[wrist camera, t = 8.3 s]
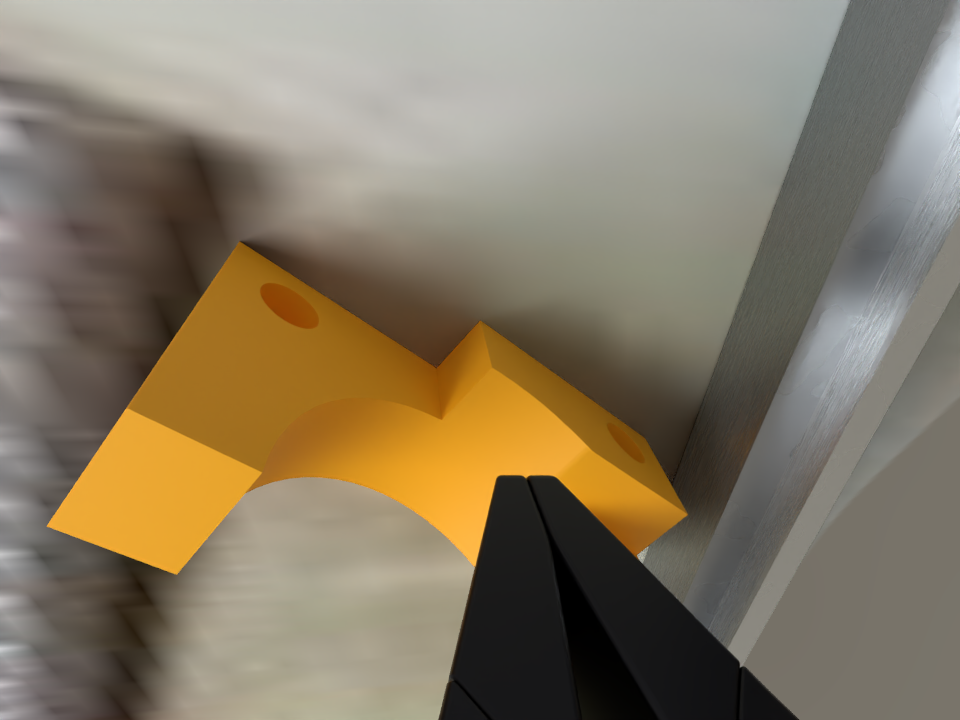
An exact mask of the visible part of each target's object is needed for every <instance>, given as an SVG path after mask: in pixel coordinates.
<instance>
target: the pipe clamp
mask: <svg viewBox="0 0 960 720" xmlns="http://www.w3.org/2000/svg"><path fill="white" fill-rule="evenodd" d="M499 475H522V476H524V477H525V478H526V477H528V476H529V475H552V476H554V477H556V478H558V479H559V480H560V481H561V482H562V483H563V484H564V485H565V486H566V487H567V488H568V489H569V490H570V491H571V492H572V493H573V494H574V495H575V496H576V497H577V498H578V499H579V500H580V501H581V502H582V503H583V504H584V505H585V506H586V507H587V508H588V509H589V510H590V511H591V512H592V513H593V514H594V515H595V516H596V517H597V518H598V519H599V520H600V522H601V523H602V524H603V525H604V526H605V527H606V528H607V529H608V530H609V531H610V532H611V533H612V534H613V535H614V536H615V537H616V538H617V539H618V540H619V541H620V542H621V543H622V544H623V545H624V546H625V547H626V548H627V549H628V550H629V551H630V552H631V553H632V554H633V555H634V556H635V557H636V558H637V559H638V557H637V554H639V553H640V552H641V551H642V550H644V549H645V548H646V547H647V546H649V545H650V544H651V543H653V542H654V541H655V540H656V539H658V538H659V537H660V536H662V535H663V534H664V533H665V532H667V531H668V530H669V529H670V528H672V527H673V526H674V525H676V524H677V523H678V522H679V521H681V520H682V519H683V518H684V517H686V516H687V515H688V514H687V512H686V510H685V508H684V506H683V505H682V503H681V501H680V499H679V498H678V496H677V494H676V492H675V490H674V489H673V487H672V485H671V483H670V482H669V480H668V478H667V476H666V474H665V473H664V471H663V469H662V467H661V466H660V464H659V462H658V460H657V458H656V457H655V455H654V453H653V451H652V450H651V448H650V446H649V444H648V442H647V441H646V439H645V438H644V437H643V436H641V435H640V434H639V433H637V432H636V431H634V430H633V429H632V428H630V427H629V426H627V425H626V424H625V423H623V422H622V421H620V420H619V419H618V418H616V417H615V416H613V415H612V414H611V413H609V412H608V411H606V410H605V409H604V408H602V407H601V406H599V405H598V404H597V403H595V402H594V401H592V400H591V399H590V398H588V397H587V396H585V395H584V394H583V393H581V392H580V391H578V390H577V389H576V388H574V387H573V386H571V385H570V384H569V383H567V382H566V381H564V380H563V379H562V378H560V377H559V376H557V375H556V374H555V373H553V372H552V371H551V370H549V369H548V368H546V367H545V366H544V365H542V364H541V363H539V362H538V361H537V360H535V359H534V358H532V357H531V356H530V355H528V354H527V353H525V352H524V351H523V350H521V349H520V348H518V347H517V346H516V345H514V344H513V343H511V342H510V341H509V340H507V339H506V338H504V337H503V336H502V335H500V334H499V333H497V332H496V331H495V330H493V329H492V328H490V327H489V326H488V325H486V324H485V323H483V322H482V321H481V320H480V321H479V322H478V323H477V324H476V325H475V327H474V328H473V329H472V330H471V331H470V332H469V333H468V334H467V335H466V336H465V338H464V339H463V340H462V341H461V342H460V343H459V344H458V345H457V346H456V347H455V348H454V350H453V351H452V352H451V353H450V354H449V355H448V356H447V357H446V358H445V359H444V361H443V362H442V363H441V364H440V365H439V366H438V367H437V368H436V367H434V366H432V365H431V364H429V363H428V362H426V361H425V360H423V359H422V358H420V357H418V356H417V355H415V354H414V353H412V352H411V351H409V350H408V349H406V348H404V347H403V346H401V345H400V344H398V343H397V342H395V341H394V340H392V339H390V338H389V337H387V336H386V335H384V334H383V333H381V332H380V331H378V330H377V329H375V328H373V327H372V326H370V325H369V324H367V323H366V322H364V321H363V320H361V319H359V318H358V317H356V316H355V315H353V314H352V313H350V312H349V311H347V310H345V309H344V308H342V307H341V306H339V305H338V304H336V303H335V302H333V301H332V300H330V299H328V298H327V297H325V296H324V295H322V294H321V293H319V292H318V291H316V290H314V289H313V288H311V287H310V286H308V285H307V284H305V283H304V282H302V281H300V280H299V279H297V278H296V277H294V276H293V275H291V274H290V273H288V272H287V271H285V270H283V269H282V268H280V267H279V266H277V265H276V264H274V263H273V262H271V261H269V260H268V259H266V258H265V257H263V256H262V255H260V254H259V253H257V252H255V251H254V250H252V249H251V248H249V247H248V246H246V245H245V244H243V243H242V242H239V243H238V244H237V246H236V247H235V249H234V250H233V252H232V253H231V255H230V256H229V258H228V259H227V261H226V262H225V264H224V265H223V267H222V268H221V270H220V271H219V272H218V274H217V275H216V277H215V278H214V280H213V281H212V283H211V284H210V286H209V287H208V289H207V290H206V292H205V293H204V295H203V296H202V298H201V299H200V300H199V302H198V303H197V305H196V306H195V308H194V309H193V311H192V312H191V314H190V315H189V317H188V318H187V320H186V321H185V323H184V324H183V326H182V327H181V328H180V330H179V331H178V333H177V334H176V336H175V337H174V339H173V340H172V342H171V343H170V345H169V346H168V348H167V349H166V351H165V352H164V354H163V355H162V357H161V358H160V360H159V361H158V362H157V364H156V365H155V367H154V368H153V370H152V371H151V373H150V374H149V376H148V377H147V379H146V380H145V382H144V383H143V385H142V386H141V388H140V389H139V391H138V392H137V393H136V395H135V396H134V398H133V399H132V401H131V402H130V404H129V405H128V407H127V408H126V410H125V411H124V413H123V414H122V416H121V417H120V419H119V420H118V422H117V423H116V425H115V426H114V427H113V429H112V430H111V432H110V433H109V435H108V436H107V438H106V439H105V441H104V442H103V444H102V445H101V447H100V448H99V450H98V451H97V453H96V454H95V456H94V457H93V458H92V460H91V461H90V463H89V464H88V466H87V467H86V469H85V470H84V472H83V473H82V475H81V476H80V478H79V479H78V481H77V482H76V484H75V485H74V487H73V488H72V490H71V491H70V492H69V494H68V495H67V497H66V498H65V500H64V501H63V503H62V504H61V506H60V507H59V509H58V510H57V512H56V513H55V515H54V516H53V518H52V519H51V521H50V522H49V523H48V525H47V527H50V528H53V529H55V530H58V531H61V532H63V533H66V534H69V535H71V536H74V537H77V538H79V539H82V540H85V541H87V542H90V543H93V544H96V545H98V546H101V547H104V548H106V549H109V550H112V551H114V552H117V553H120V554H122V555H125V556H128V557H131V558H133V559H136V560H139V561H141V562H144V563H147V564H149V565H152V566H155V567H157V568H160V569H163V570H165V571H168V572H171V573H174V574H176V575H177V574H178V572H179V571H180V570H181V569H182V568H183V566H184V565H185V564H186V563H187V562H188V560H189V559H190V558H191V557H192V556H193V554H194V553H195V552H196V551H197V550H198V549H199V547H200V546H201V545H202V544H203V543H204V541H205V540H206V539H207V538H208V537H209V535H210V534H211V533H212V532H213V531H214V530H215V528H216V527H217V526H218V525H219V524H220V522H221V521H222V520H223V519H224V518H225V516H226V515H227V514H228V513H229V512H230V510H231V509H232V508H233V507H234V506H235V505H236V503H237V502H238V501H239V500H240V499H241V497H242V496H243V495H244V494H245V493H247V492H249V491H251V490H253V489H255V488H257V487H260V486H263V485H266V484H268V483H271V482H275V481H280V480H284V479H289V478H300V477H323V478H331V479H338V480H343V481H347V482H352V483H355V484H358V485H362V486H365V487H368V488H370V489H373V490H375V491H378V492H380V493H383V494H385V495H387V496H389V497H390V498H392V499H394V500H396V501H398V502H400V503H402V504H403V505H405V506H407V507H408V508H410V509H412V510H413V511H414V512H416V513H417V514H419V515H420V516H422V517H423V518H424V519H426V520H427V521H428V522H429V523H431V524H432V525H433V526H434V527H436V528H437V529H438V530H439V531H440V532H441V533H443V534H444V535H445V536H446V537H447V538H448V539H449V540H450V541H451V542H452V543H453V544H454V545H455V546H456V547H457V548H458V549H459V550H460V551H461V552H462V553H463V554H464V555H465V556H466V558H467V559H468V560H469V561H470V562H471V564H472V565H473V566H474V567H475V565H476V561H477V557H478V553H479V549H480V544H481V540H482V536H483V532H484V527H485V523H486V519H487V515H488V511H489V506H490V502H491V498H492V494H493V490H494V485H495V481H496V478H497V477H498V476H499ZM638 560H639V559H638Z"/></svg>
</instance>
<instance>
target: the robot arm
mask: <svg viewBox="0 0 960 720" xmlns="http://www.w3.org/2000/svg"><path fill="white" fill-rule="evenodd" d="M438 720H799V719H798V718H797V717H796V716H795V715H794V714H793V713H792V712H791V711H790V710H789V709H788V708H787V707H785V706H784V705H783V704H782V703H781V702H780V701H779V700H778V699H777V698H776V697H775V696H774V695H773V694H772V693H771V692H770V691H769V690H768V689H767V688H766V687H765V686H764V685H763V684H762V683H761V682H760V681H759V680H758V679H757V678H756V677H755V676H754V675H753V674H752V673H751V672H750V671H749V670H748V669H747V668H746V667H740V662H739V660H738V659H737V658H736V657H735V656H734V655H733V654H732V653H731V652H730V651H729V650H728V649H727V648H726V647H725V646H724V645H723V644H722V643H721V642H720V641H719V640H718V639H717V638H716V637H715V636H714V635H713V634H712V633H711V632H710V631H709V630H708V629H707V628H706V627H705V626H704V625H703V624H702V623H701V622H700V621H699V620H698V619H697V618H696V617H695V616H694V615H693V614H692V613H691V612H690V611H689V610H688V609H687V608H686V607H685V606H684V605H683V604H682V603H681V602H680V601H679V600H678V599H677V598H676V597H675V596H674V595H673V594H672V593H671V592H670V591H669V590H668V589H667V588H666V587H665V586H664V585H663V584H662V583H661V582H660V581H659V580H658V579H657V578H656V577H655V576H654V575H653V574H652V573H651V572H650V571H649V570H648V569H647V568H646V567H645V566H644V565H643V564H642V563H641V562H640V561H639V560H638V559H637V558H636V557H635V556H634V555H633V554H632V553H631V552H630V551H629V550H628V549H627V548H626V547H625V546H624V545H623V544H622V543H621V542H620V541H619V540H618V539H617V538H616V537H615V536H614V535H613V534H612V533H611V532H610V531H609V530H608V529H607V528H606V527H605V526H604V525H603V524H602V523H601V522H600V520H599V519H598V518H597V517H596V516H595V515H594V514H593V513H592V512H591V511H590V510H589V509H588V508H587V507H586V506H585V505H584V504H583V503H582V502H581V501H580V500H579V499H578V498H577V497H576V496H575V495H574V494H573V493H572V492H571V491H570V490H569V489H568V488H567V487H566V486H565V485H564V484H563V483H562V482H561V481H560V480H559V479H558V478H556V477H554V476H552V475H529V476H528V477H526V478H525V477H524V476H522V475H499V476H498V477H497V478H496V481H495V485H494V490H493V494H492V498H491V502H490V506H489V511H488V515H487V519H486V523H485V527H484V532H483V536H482V540H481V544H480V549H479V553H478V557H477V561H476V565H475V570H474V574H473V578H472V582H471V586H470V591H469V595H468V599H467V603H466V607H465V612H464V616H463V620H462V624H461V629H460V633H459V637H458V641H457V645H456V650H455V654H454V658H453V662H452V666H451V671H450V675H449V681H448V683H447V686H446V690H445V694H444V699H443V703H442V707H441V711H440V715H439V719H438Z"/></svg>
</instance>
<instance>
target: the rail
mask: <svg viewBox="0 0 960 720" xmlns="http://www.w3.org/2000/svg"><path fill="white" fill-rule="evenodd" d="M959 284H960V0H851V2H850V4H849V7H848V10H847V13H846V15H845V18H844V21H843V23H842V26H841V29H840V32H839V34H838V37H837V40H836V42H835V45H834V48H833V51H832V53H831V56H830V59H829V61H828V64H827V67H826V70H825V72H824V75H823V78H822V80H821V83H820V86H819V88H818V91H817V94H816V97H815V99H814V102H813V105H812V107H811V110H810V113H809V116H808V118H807V121H806V124H805V126H804V129H803V132H802V135H801V137H800V140H799V143H798V145H797V148H796V151H795V154H794V156H793V159H792V162H791V164H790V167H789V170H788V173H787V175H786V178H785V181H784V183H783V186H782V189H781V192H780V194H779V197H778V200H777V202H776V205H775V208H774V210H773V213H772V216H771V219H770V221H769V224H768V227H767V229H766V232H765V235H764V238H763V240H762V243H761V246H760V248H759V251H758V254H757V257H756V259H755V262H754V265H753V267H752V270H751V273H750V276H749V278H748V281H747V284H746V286H745V289H744V292H743V295H742V297H741V300H740V303H739V305H738V308H737V311H736V313H735V316H734V319H733V322H732V324H731V327H730V330H729V332H728V335H727V338H726V341H725V343H724V346H723V349H722V351H721V354H720V357H719V360H718V362H717V365H716V368H715V370H714V373H713V376H712V379H711V381H710V384H709V387H708V389H707V392H706V395H705V398H704V400H703V403H702V406H701V408H700V411H699V414H698V417H697V419H696V422H695V425H694V427H693V430H692V433H691V435H690V438H689V441H688V444H687V446H686V449H685V452H684V454H683V457H682V460H681V463H680V465H679V468H678V471H677V473H676V476H675V479H674V482H673V484H672V487H673V489H674V490H675V492H676V494H677V496H678V498H679V499H680V501H681V503H682V505H683V506H684V508H685V510H686V512H687V514H688V515H687V516H686V517H684V518H683V519H682V520H681V521H679V522H678V523H677V524H676V525H674V526H673V527H672V528H670V529H669V530H668V531H667V532H665V533H664V534H663V535H662V536H660V537H659V538H658V539H656V540H655V541H654V542H653V543H651V544H650V547H649V549H648V552H647V555H646V557H645V560H644V563H643V565H644V566H645V567H646V568H647V569H648V570H649V571H650V572H651V573H652V574H653V575H654V576H655V577H656V578H657V579H658V580H659V581H660V582H661V583H662V584H663V585H664V586H665V587H666V588H667V589H668V590H669V591H670V592H671V593H672V594H673V595H674V596H675V597H676V598H677V599H678V600H679V601H680V602H681V603H682V604H683V605H684V606H685V607H686V608H687V609H688V610H689V611H690V612H691V613H692V614H693V615H694V616H695V617H696V618H697V619H698V620H699V621H700V622H701V623H702V624H703V625H704V626H705V627H706V628H707V629H708V630H709V631H710V632H711V633H712V634H713V635H714V636H715V637H716V638H717V639H718V640H719V641H720V642H721V643H722V644H723V645H724V646H725V647H726V648H727V649H728V650H729V651H730V652H731V653H732V654H733V655H734V656H735V657H736V658H737V659H738V660H739V662H740V667H742V666H743V664H744V662H745V660H746V658H747V656H748V655H749V653H750V651H751V650H752V648H753V646H754V644H755V643H756V641H757V639H758V637H759V636H760V634H761V632H762V630H763V629H764V627H765V625H766V623H767V622H768V620H769V618H770V616H771V614H772V612H773V611H774V609H775V608H776V606H777V604H778V602H779V600H780V599H781V597H782V595H783V593H784V592H785V590H786V588H787V586H788V585H789V583H790V581H791V579H792V578H793V576H794V574H795V572H796V571H797V569H798V567H799V565H800V564H801V562H802V560H803V558H804V556H805V555H806V553H807V551H808V549H809V548H810V546H811V544H812V542H813V541H814V539H815V537H816V535H817V534H818V532H819V530H820V528H821V527H822V525H823V523H824V521H825V520H826V518H827V516H828V514H829V512H830V511H831V509H832V507H833V505H834V504H835V502H836V500H837V498H838V497H839V495H840V493H841V491H842V490H843V488H844V486H845V484H846V483H847V481H848V479H849V477H850V476H851V474H852V472H853V470H854V468H855V467H856V465H857V463H858V461H859V460H860V458H861V456H862V454H863V453H864V451H865V449H866V447H867V446H868V444H869V442H870V440H871V439H872V437H873V435H874V433H875V432H876V430H877V428H878V426H879V425H880V423H881V421H882V419H883V417H884V416H885V414H886V412H887V410H888V409H889V407H890V405H891V403H892V402H893V400H894V398H895V396H896V395H897V393H898V391H899V389H900V388H901V386H902V384H903V382H904V381H905V379H906V377H907V375H908V373H909V372H910V370H911V368H912V366H913V365H914V363H915V361H916V359H917V358H918V356H919V354H920V352H921V351H922V349H923V347H924V345H925V344H926V342H927V340H928V338H929V337H930V335H931V333H932V331H933V329H934V328H935V326H936V324H937V322H938V321H939V319H940V317H941V315H942V314H943V312H944V310H945V308H946V307H947V305H948V303H949V301H950V300H951V298H952V296H953V294H954V293H955V291H956V289H957V287H958V286H959Z"/></svg>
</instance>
